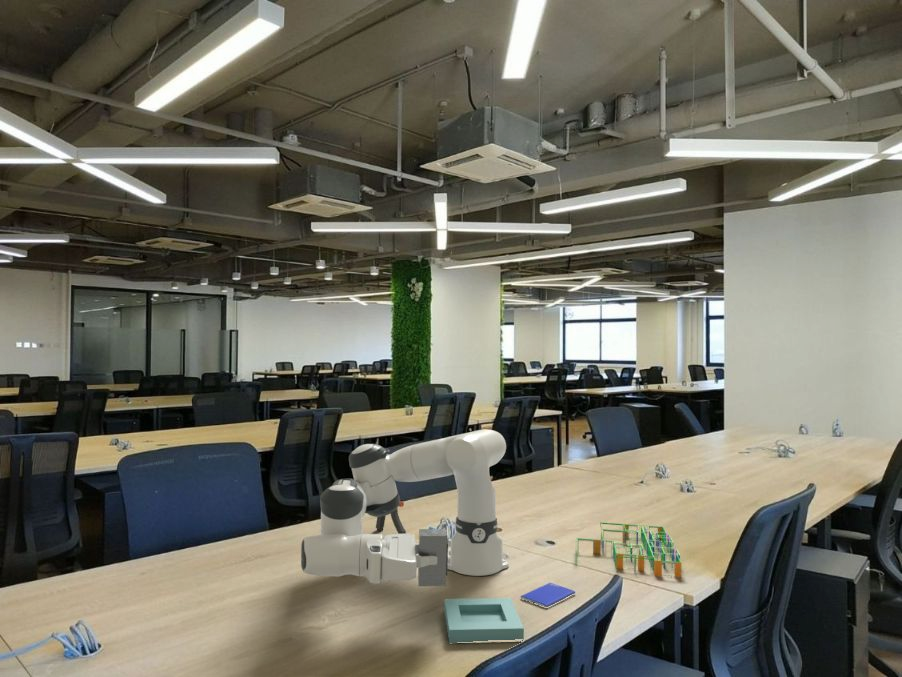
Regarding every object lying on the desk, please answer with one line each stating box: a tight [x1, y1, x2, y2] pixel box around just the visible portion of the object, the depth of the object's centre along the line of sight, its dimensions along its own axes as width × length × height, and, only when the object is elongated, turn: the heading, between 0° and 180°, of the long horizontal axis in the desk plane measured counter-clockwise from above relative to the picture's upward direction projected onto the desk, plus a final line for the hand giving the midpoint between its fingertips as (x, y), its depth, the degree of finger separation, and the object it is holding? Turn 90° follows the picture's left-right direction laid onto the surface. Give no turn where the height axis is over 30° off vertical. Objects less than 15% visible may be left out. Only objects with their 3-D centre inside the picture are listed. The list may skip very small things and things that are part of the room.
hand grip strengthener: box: [375, 501, 407, 534], centre depth 206 cm, size 2×12×15 cm, turn 53°
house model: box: [575, 521, 682, 578], centre depth 189 cm, size 35×30×5 cm
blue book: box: [519, 582, 576, 607], centre depth 155 cm, size 2×8×12 cm
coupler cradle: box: [443, 597, 525, 644], centre depth 138 cm, size 16×16×3 cm
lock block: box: [417, 528, 449, 587], centre depth 136 cm, size 5×6×11 cm
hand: (436, 554), depth 136 cm, fingers closed on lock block, 5 cm apart
